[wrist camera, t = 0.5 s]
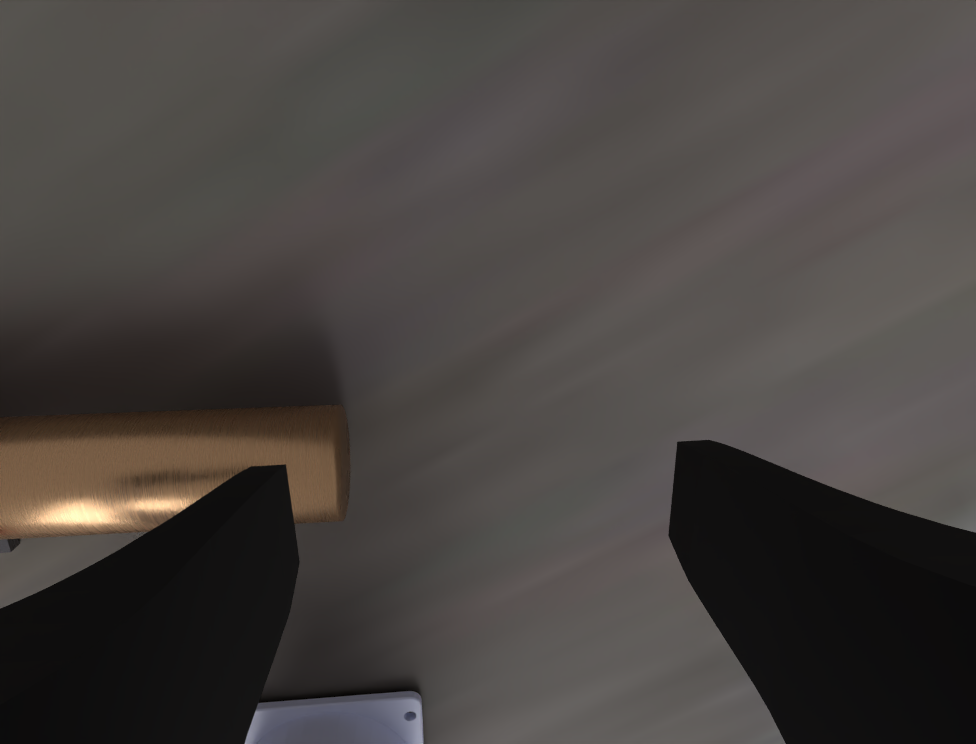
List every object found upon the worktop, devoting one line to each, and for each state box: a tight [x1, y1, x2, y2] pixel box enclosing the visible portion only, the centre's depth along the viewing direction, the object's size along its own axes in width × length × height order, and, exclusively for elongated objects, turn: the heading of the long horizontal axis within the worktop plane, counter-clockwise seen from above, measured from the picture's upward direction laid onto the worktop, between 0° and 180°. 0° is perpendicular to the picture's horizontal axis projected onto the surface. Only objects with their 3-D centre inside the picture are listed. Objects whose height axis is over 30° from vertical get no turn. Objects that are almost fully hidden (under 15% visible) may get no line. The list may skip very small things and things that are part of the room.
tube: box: [0, 405, 350, 540], centre depth 18 cm, size 4×18×4 cm, turn 90°
